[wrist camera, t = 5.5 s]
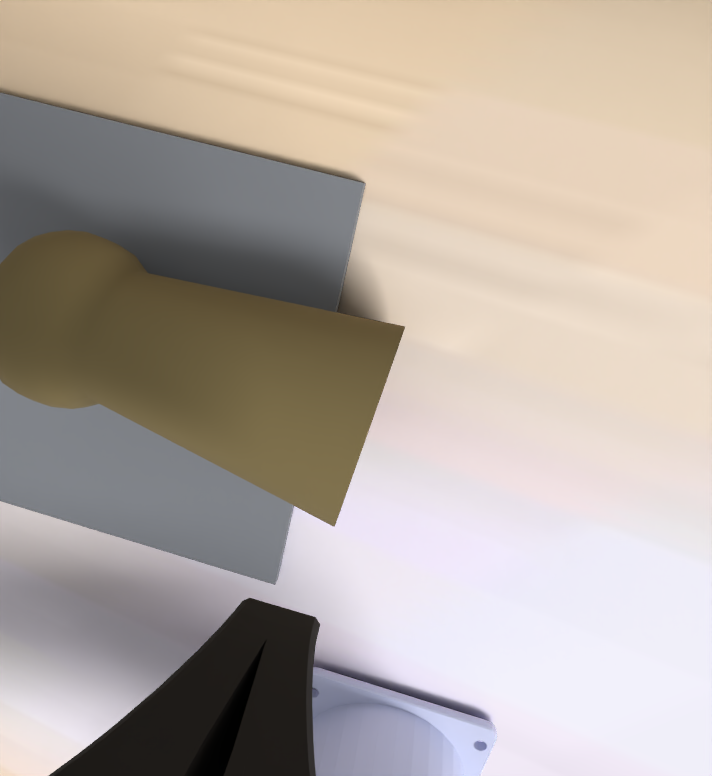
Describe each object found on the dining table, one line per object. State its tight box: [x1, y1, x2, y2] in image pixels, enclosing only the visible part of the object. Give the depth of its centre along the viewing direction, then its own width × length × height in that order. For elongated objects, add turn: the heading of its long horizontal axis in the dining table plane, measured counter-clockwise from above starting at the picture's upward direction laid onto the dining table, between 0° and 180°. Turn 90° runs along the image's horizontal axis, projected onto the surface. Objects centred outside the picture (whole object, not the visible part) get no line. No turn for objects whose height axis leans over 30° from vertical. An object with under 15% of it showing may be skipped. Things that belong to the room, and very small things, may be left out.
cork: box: [0, 230, 405, 526], centre depth 17 cm, size 6×6×11 cm
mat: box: [0, 92, 366, 585], centre depth 20 cm, size 15×18×1 cm
